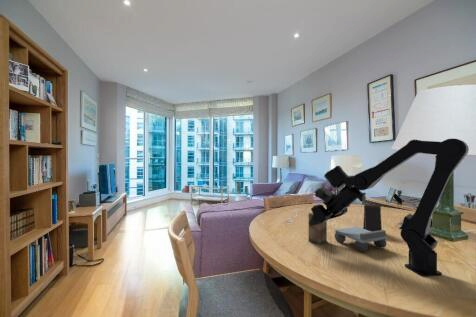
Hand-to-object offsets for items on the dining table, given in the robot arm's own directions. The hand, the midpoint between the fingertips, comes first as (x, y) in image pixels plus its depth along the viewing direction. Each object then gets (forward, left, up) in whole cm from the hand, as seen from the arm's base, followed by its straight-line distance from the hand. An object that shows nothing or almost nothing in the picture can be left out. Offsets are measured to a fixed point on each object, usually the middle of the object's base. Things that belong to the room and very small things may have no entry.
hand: (315, 222), depth 97 cm
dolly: (-6, -14, -7) cm, 17 cm away
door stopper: (+6, -28, -8) cm, 30 cm away
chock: (-1, 0, -7) cm, 7 cm away
